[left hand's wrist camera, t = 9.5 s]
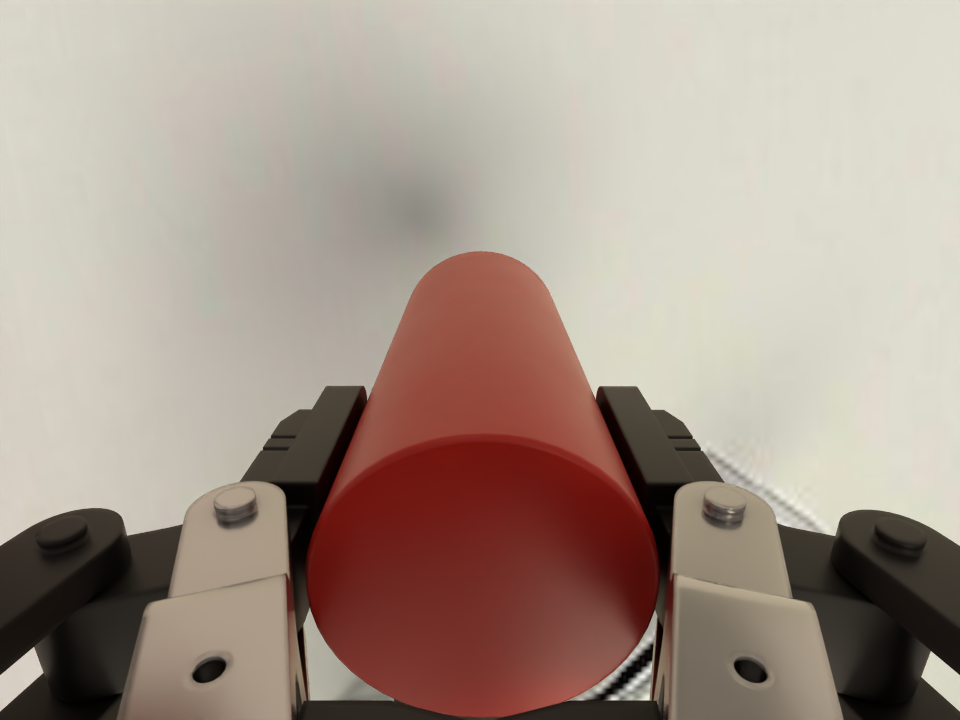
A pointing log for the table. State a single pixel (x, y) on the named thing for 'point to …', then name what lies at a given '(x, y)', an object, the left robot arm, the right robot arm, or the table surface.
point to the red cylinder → (482, 510)
